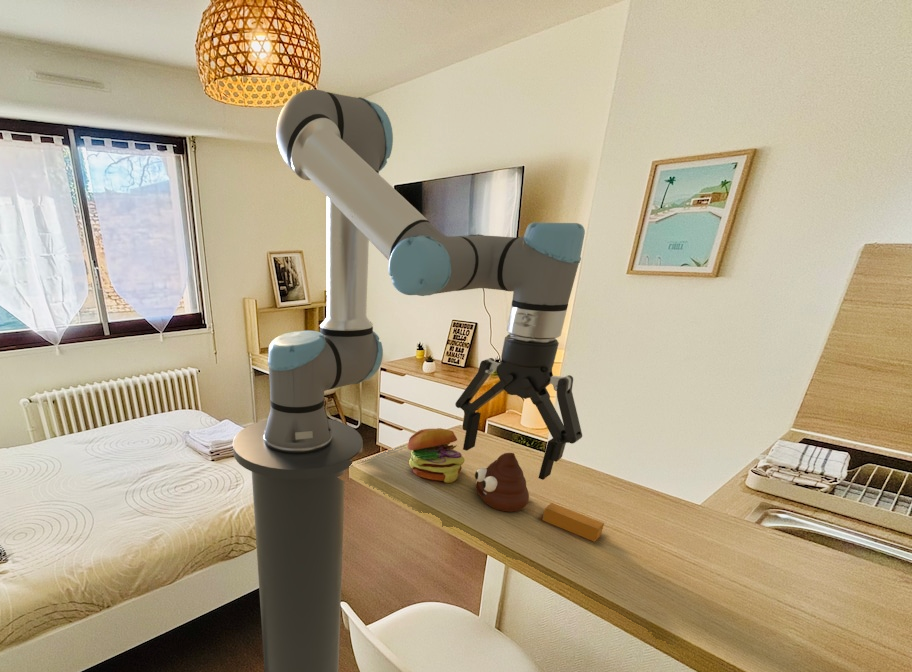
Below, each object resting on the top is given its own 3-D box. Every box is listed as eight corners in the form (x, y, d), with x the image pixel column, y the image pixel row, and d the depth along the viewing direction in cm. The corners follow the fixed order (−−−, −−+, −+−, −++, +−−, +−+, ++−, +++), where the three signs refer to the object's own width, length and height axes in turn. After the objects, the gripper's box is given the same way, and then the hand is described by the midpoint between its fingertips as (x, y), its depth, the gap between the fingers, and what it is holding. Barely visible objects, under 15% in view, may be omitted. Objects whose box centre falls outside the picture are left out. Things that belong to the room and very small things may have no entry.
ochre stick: (541, 520, 76) (545, 507, 75) (548, 514, 78) (551, 502, 77) (594, 542, 71) (598, 529, 70) (600, 535, 72) (604, 523, 71)
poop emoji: (537, 512, 78) (549, 463, 74) (488, 515, 77) (497, 465, 73) (509, 483, 87) (518, 437, 83) (464, 485, 86) (472, 439, 82)
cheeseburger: (431, 490, 85) (428, 436, 82) (398, 477, 94) (394, 429, 92) (474, 478, 88) (472, 426, 86) (438, 467, 98) (436, 420, 96)
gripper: (446, 326, 76) (430, 443, 85) (614, 357, 59) (571, 498, 69) (471, 320, 80) (452, 432, 90) (633, 348, 64) (590, 481, 73)
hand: (504, 461), depth 79 cm, fingers open, 13 cm apart
